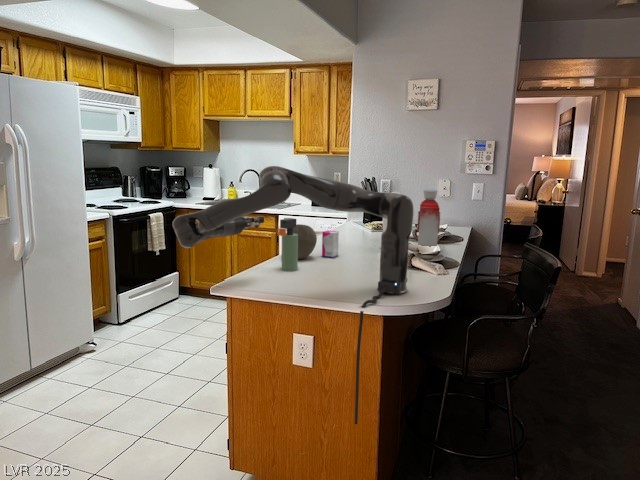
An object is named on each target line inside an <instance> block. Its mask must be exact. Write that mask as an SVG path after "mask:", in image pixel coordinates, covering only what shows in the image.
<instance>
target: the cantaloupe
mask: <svg viewBox="0 0 640 480" xmlns="http://www.w3.org/2000/svg"><path fill="white" fill-rule="evenodd" d="M293 233H294V234H298V260H304V259H306V258H308V257H309V256H310V255H311V254H312V253H313V251H314V250H315V248H316V246H317V240H318V237H317V233H316V232H315V230H314V229H313V227H311V225H308V224H302V223H301V224H298V223H296V227H294V228H293Z"/></svg>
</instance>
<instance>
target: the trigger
mask: <svg viewBox="0 0 640 480" xmlns="http://www.w3.org/2000/svg"><path fill="white" fill-rule="evenodd" d="M286 233H287V229H285V228H278V236H280V237H282V236H286Z"/></svg>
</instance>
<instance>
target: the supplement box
mask: <svg viewBox="0 0 640 480" xmlns="http://www.w3.org/2000/svg"><path fill="white" fill-rule="evenodd" d="M339 234H340V231H338V230H325V231H324V230H323V231H322V239H321V257H322V258H329V259H335V258H337V257H339V237H340V235H339Z"/></svg>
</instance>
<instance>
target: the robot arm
mask: <svg viewBox="0 0 640 480" xmlns="http://www.w3.org/2000/svg"><path fill="white" fill-rule="evenodd" d="M258 183H259V188H258V189H256V190H255V191H253V192H252V193H250V194H248V195H246V196H245V195H244V196H242V197H235V198H227V199H222V200H221V201H217V202H216V203H213V204H212V205H210V206H208V207H206V208H203V209H200V210H198V211H194V212H190V213H184V214H179V215H178V216H176V217H175V218H174V219H173V220H172V228H173V230H174V233H175V235H176V238H177V240H178V242H179V245H180V246H181V247H183V248H185V249H191V248H194V247H196V246H197V245H199V244H200V243H202V242H204V241H207V240H209V239H215V238H225V237H230V236H237V235H241V233H242V232H243V231H244V230H247V229H249V228H256V229H258V228H259V227H260V226H261V224H264V223H265V217H264V216H248V215H250V214H253V213H256V212H259V211H263V210H266V209H269V208H272V207H275V206H277V205H280V204H282V203H285V202H286V201H287V200H289V198H290V196H291V195H292V194H295V195H298V196H301V197H303V198H305V199H308V200H309V201H310V202H312V203H314V204H316V205H318V206H320V207H322V208H325V209H327V210H333V211H338V212H344V213H366V214H370V215H373V216H377V217H379V218H382V219H383V218H385V219H387V228H386V230H385V231H384V232H383V231H382V233H381V234H380V235H381V236H380V256H379V257H380V259H379V260H380V261H379V278H378V279H379V280H378V282H377V292H380V293H379V294H378V295H373V296H372V299H368V300H365V301H364V302H363V303H362V305H361V308H362V309H364V308H366V306H367V305H368V304H375V303H377V301H378V299H380V298H381V297H382V296H383V295H384V294H389V295H398V296H400V295H402V294H405V293H407V283H408V262H409V261H408V260H409V243H410V237H411V235H412V232H413V224H414V223H413V222H414V212H415V211H414V203H413V200H412V199H411V198H410V197H409V196H407V195H405V194H401V193H400V194H399V193H392V192H381V191H380V192H379V191H372V190H368V189H365V188H362V187H360V186H357V185H354V184H351V183H348V182H344V181H340V180H339V181H338V180H333V179H328V178H323V177H318V176H314V175H309V174H304V173H301V172H298V171H295V170H292V169H288V168H286V167H283V166H279V165H270V166H266V167H264V168H263V169H262V170H260V172H259V175H258ZM197 222H198V223H197ZM364 313H365V312H364V311H363V310H360V312H359V324H358V333H357V343H356V345H357V346H356V360H355V361H356V363H355V364H356V365H355V395H354V396H355V399H354V400H355V402H354V425H358V420H359V419H358V418H359V393H360V392H359V389H360V360H361V358H360V357H361V342H362V332H363V331H362V330H363V323H364Z"/></svg>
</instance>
